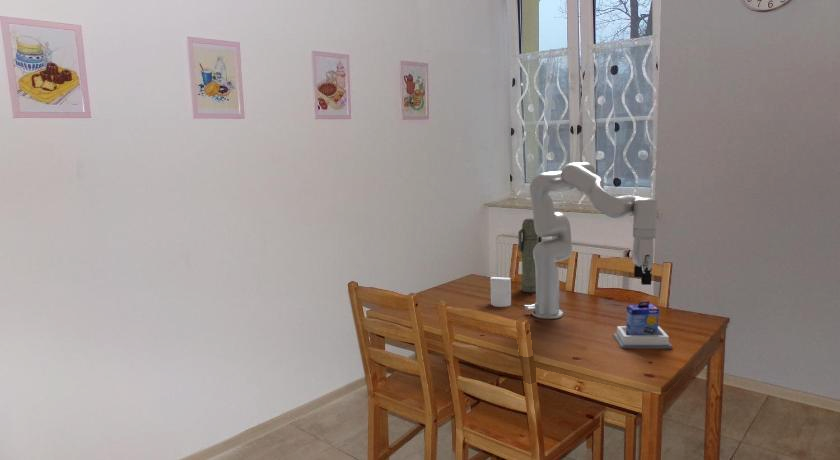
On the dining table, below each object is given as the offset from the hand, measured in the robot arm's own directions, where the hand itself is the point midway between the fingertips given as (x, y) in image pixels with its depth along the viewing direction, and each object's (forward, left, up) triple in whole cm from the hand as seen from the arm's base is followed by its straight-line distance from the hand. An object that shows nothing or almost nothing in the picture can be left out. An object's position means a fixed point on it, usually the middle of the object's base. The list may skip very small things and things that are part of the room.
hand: (642, 280), depth 201 cm
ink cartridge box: (0, 0, -22) cm, 22 cm away
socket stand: (0, 0, -23) cm, 23 cm away
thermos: (-34, +71, -23) cm, 82 cm away
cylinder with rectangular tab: (-49, +48, -23) cm, 72 cm away
